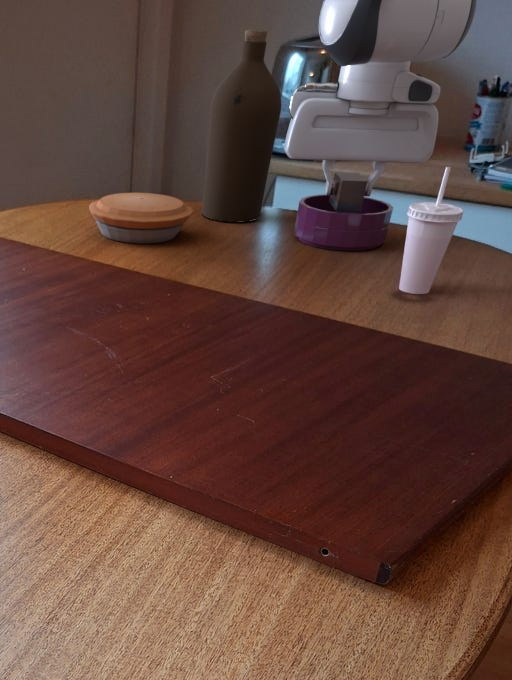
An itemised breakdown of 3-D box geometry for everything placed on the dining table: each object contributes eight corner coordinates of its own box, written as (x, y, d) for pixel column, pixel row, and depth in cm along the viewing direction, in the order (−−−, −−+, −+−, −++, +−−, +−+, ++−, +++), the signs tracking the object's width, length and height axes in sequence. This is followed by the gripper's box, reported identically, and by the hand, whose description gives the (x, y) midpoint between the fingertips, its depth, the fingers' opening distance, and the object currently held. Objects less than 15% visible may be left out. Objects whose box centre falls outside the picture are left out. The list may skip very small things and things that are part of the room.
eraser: (328, 201, 131) (334, 172, 129) (352, 202, 131) (359, 172, 129) (335, 211, 127) (342, 180, 124) (360, 212, 127) (367, 181, 124)
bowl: (373, 230, 137) (382, 195, 133) (392, 253, 126) (402, 216, 123) (287, 227, 137) (294, 192, 134) (300, 250, 127) (307, 212, 124)
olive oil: (271, 224, 139) (303, 33, 124) (205, 224, 138) (229, 32, 123) (253, 208, 147) (281, 28, 132) (191, 208, 147) (212, 27, 131)
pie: (148, 254, 124) (151, 215, 121) (66, 233, 133) (68, 197, 130) (210, 234, 133) (214, 199, 130) (130, 217, 142) (133, 182, 139)
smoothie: (445, 288, 113) (481, 167, 105) (432, 300, 109) (469, 175, 101) (396, 279, 116) (426, 161, 108) (381, 291, 112) (412, 169, 103)
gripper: (297, 84, 118) (278, 197, 126) (453, 88, 116) (423, 202, 125) (290, 78, 123) (272, 187, 131) (440, 82, 121) (412, 192, 130)
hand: (347, 195), depth 128 cm, fingers closed on eraser, 3 cm apart
